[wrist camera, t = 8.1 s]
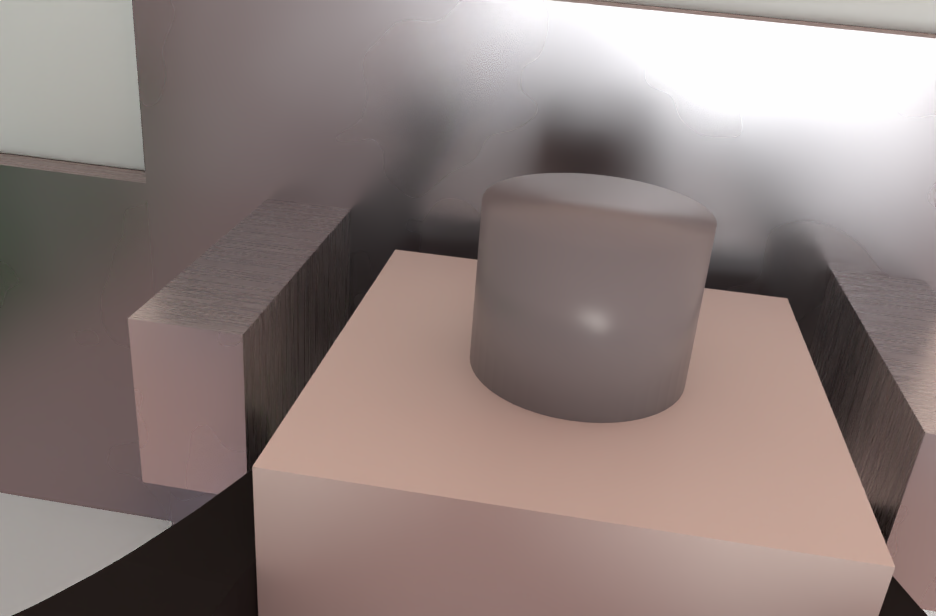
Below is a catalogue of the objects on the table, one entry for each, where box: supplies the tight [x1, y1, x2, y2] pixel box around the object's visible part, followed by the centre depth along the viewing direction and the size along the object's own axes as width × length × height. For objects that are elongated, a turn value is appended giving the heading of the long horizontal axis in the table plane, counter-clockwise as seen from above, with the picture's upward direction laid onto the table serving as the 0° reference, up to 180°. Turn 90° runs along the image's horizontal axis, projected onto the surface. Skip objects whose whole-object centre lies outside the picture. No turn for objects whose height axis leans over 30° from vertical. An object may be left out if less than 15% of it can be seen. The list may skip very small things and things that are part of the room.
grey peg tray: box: [0, 0, 936, 611], centre depth 12 cm, size 12×17×4 cm
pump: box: [252, 173, 895, 616], centre depth 10 cm, size 7×5×5 cm
